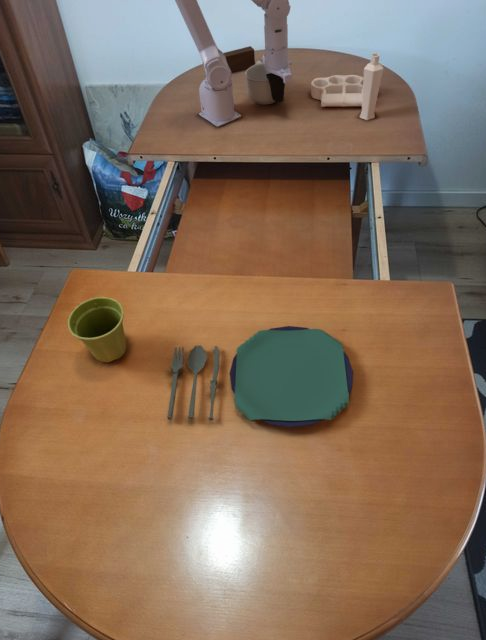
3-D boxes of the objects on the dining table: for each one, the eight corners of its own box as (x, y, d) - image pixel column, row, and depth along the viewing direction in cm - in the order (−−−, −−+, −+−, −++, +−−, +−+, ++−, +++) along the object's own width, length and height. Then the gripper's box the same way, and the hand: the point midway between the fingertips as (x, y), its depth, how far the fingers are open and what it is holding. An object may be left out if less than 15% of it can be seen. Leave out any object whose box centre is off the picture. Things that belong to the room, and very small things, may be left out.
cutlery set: (358, 433, 75) (360, 425, 73) (163, 433, 77) (160, 426, 76) (345, 331, 87) (347, 323, 85) (177, 334, 90) (175, 326, 88)
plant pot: (73, 363, 87) (56, 332, 81) (100, 324, 93) (85, 291, 86) (120, 376, 85) (106, 344, 78) (144, 335, 90) (133, 302, 83)
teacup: (286, 107, 137) (286, 76, 131) (247, 110, 138) (245, 80, 131) (282, 84, 146) (282, 54, 139) (245, 87, 146) (243, 58, 140)
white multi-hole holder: (309, 110, 135) (311, 85, 144) (377, 109, 132) (375, 84, 141) (309, 97, 132) (312, 73, 141) (379, 97, 129) (377, 71, 138)
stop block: (255, 66, 154) (254, 49, 150) (225, 74, 153) (223, 57, 149) (251, 63, 156) (250, 45, 152) (221, 70, 154) (220, 53, 150)
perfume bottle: (355, 113, 132) (363, 52, 120) (372, 111, 132) (380, 49, 120) (360, 121, 129) (368, 60, 117) (377, 119, 129) (386, 57, 117)
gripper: (303, 52, 121) (302, 107, 131) (279, 32, 130) (280, 85, 140) (276, 59, 120) (278, 114, 130) (254, 39, 129) (257, 92, 139)
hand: (277, 100), depth 135 cm, fingers closed, pressing on teacup
